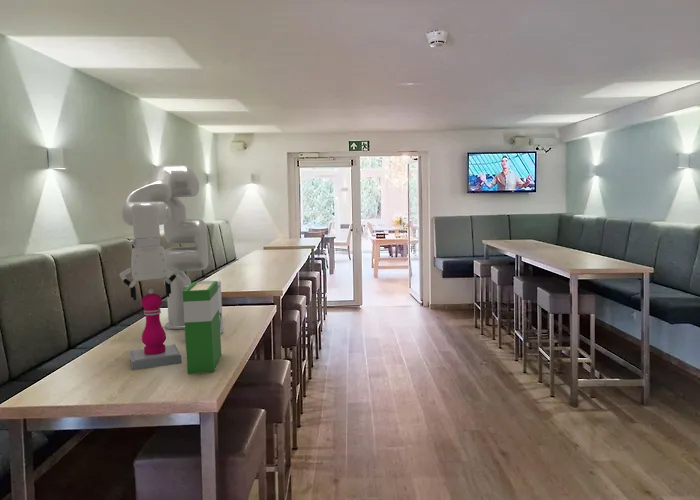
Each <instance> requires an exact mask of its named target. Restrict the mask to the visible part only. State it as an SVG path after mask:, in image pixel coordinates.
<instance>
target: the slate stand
mask: <svg viewBox="0 0 700 500" xmlns="http://www.w3.org/2000/svg"><path fill="white" fill-rule="evenodd" d="M129 359H130V363H131V370H133V371H135V370H136V371H137V370H141V369H142V370H143V369H150V368H157V367H161V366H162V367H163V366H169V365H175V364H176V365H177V364H182V363H183V362H182V354H181V352H180V350H179V349H178V346H177V345H176V344H168V345H167V344H166V345H165V352H163V353H160V354H152V355H149V354H145V353H144V348H140V349H139V348H138V349H131V350H129Z"/></svg>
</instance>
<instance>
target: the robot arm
mask: <svg viewBox="0 0 700 500" xmlns="http://www.w3.org/2000/svg"><path fill="white" fill-rule="evenodd" d="M199 191H200V183H199V179H198V177H197V175H196V173H195V172H194V170H193V168H191V167H190V166H188V165H185V164H176V165H173V164H171V165H165V164H164V165H158V166H156V167H155V168H153V170H152V171H151V174H150V177H149V179H148V181H147V183H146V185H143V186H141V187H140V188H138V189H136V190H133V191H132V192H131V193H129V194H128V195H127V197H126V199H125V201H124V202H123V203H124V204H123V206H122V209H121V210H122V212H121V214H122V219H123V221H124V223H125V224H126V225H128V226H131V227H132V228H133V229H132V230H133V239H131V240H128V245H130V246H134V247H133V248H132V249H131V261H130V262H131V266H130V267H129V268H127V269H125V270H123V271H121V272H120V273H119V277H120V279H121V280H122V282H123V283H124V284H126V285H127V286H128V287H129V289H130V292H129V293H130V298H132V299H133V301H136V300H137V289H136V284H137V283H138V282H147V281H157V280H164V281H165V283H164V287H165V288H164V289H165V296H166V299H167V301H166V303H167V315H168V317H167V318H168V322H167V323H165V324H164V328H165V329H166V330H185V325H184V306H183V287H184V286H188V285H191V284H192V281H191V278H190V277H189V276H188V275H187V274H186V273H185V272H191V271H202V270H206V269H208V267H209V248H208V247H209V246H208V245H209V244H208V234H207V233H208V232H207V225H206V223H205V221H204V220H203V219H201V218H187V214H186V212H187V211H186V205H185V204H184V203H183V201H182V200H181V199H180V198H192V197H196V196H197V195H198V194H199ZM161 225H163V233H164V239H165V240H166V242H167V243H169V244H173V245H174V244H177V245H178V244H194V246H174V247H173V246H172V247H169V248H166V249H165V247H164V246H162V245H161V233H160V232H161V231H160V226H161ZM129 274H131V277H132V279H131V281H130V280H129V279H128V278H127V277H126V276H127V275H129Z"/></svg>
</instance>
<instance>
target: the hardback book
mask: <svg viewBox="0 0 700 500" xmlns="http://www.w3.org/2000/svg"><path fill="white" fill-rule="evenodd" d="M213 281H214V282H213V283H212V284H197V281H193V282H191V285H189V286H188V287H187V288H186V289H185V290H184V291H183V306H184V322H185V329H184V339H185V338H186V342H185V350H186V351H185V352H186V354H185V355H186V369H187V375H190V374H191V375H192V374H206V373H215V371H216V369H217V366H218V364H219V362H220V360H221V357H222V342H221V341H222V340H221V339H222V338H221V334H220V319H219V301H218V283H217V281H218V280H213Z"/></svg>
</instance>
